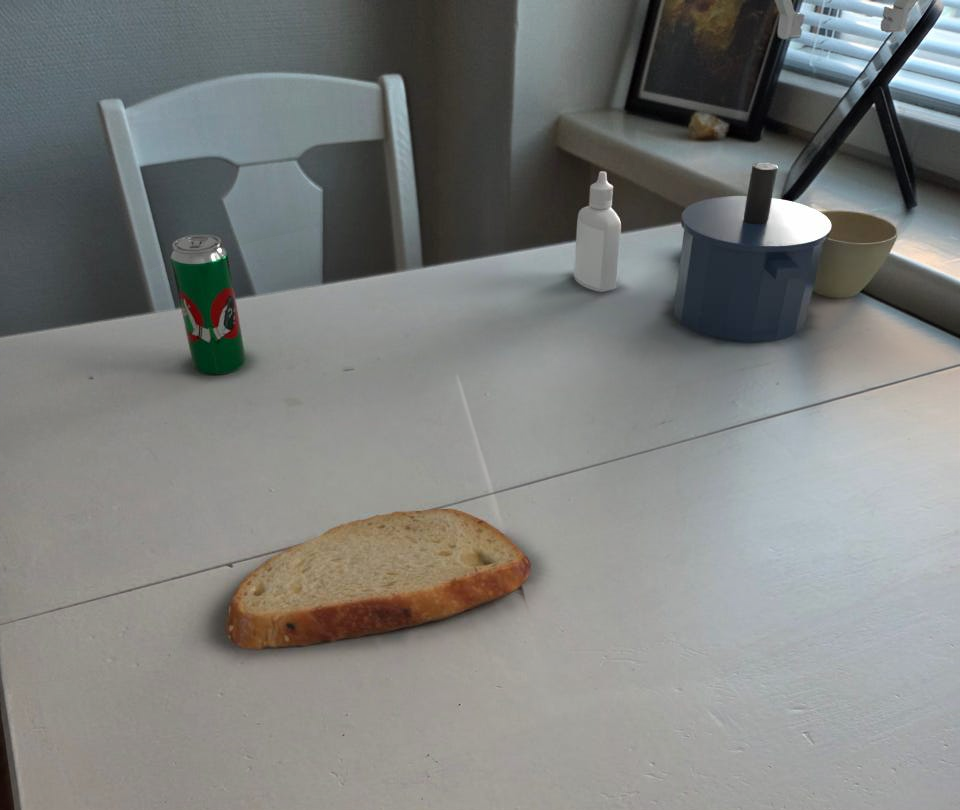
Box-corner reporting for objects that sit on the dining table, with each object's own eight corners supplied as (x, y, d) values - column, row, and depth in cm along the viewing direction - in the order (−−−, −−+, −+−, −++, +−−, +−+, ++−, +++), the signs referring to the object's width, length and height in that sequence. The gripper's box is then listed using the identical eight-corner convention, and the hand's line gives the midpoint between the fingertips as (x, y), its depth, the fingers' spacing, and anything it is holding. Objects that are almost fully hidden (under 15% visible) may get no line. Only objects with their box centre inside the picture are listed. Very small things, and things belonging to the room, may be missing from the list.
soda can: (248, 354, 98) (227, 231, 90) (245, 377, 94) (223, 251, 86) (196, 356, 98) (171, 233, 90) (191, 380, 94) (164, 254, 86)
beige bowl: (787, 305, 107) (801, 237, 102) (788, 270, 114) (801, 206, 109) (883, 313, 105) (902, 245, 100) (878, 278, 112) (895, 213, 108)
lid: (794, 204, 105) (807, 141, 101) (853, 254, 94) (870, 186, 90) (662, 211, 103) (669, 147, 99) (707, 263, 92) (717, 194, 88)
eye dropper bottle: (577, 295, 109) (585, 181, 101) (572, 275, 113) (579, 164, 105) (617, 294, 109) (627, 180, 101) (610, 274, 113) (619, 163, 105)
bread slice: (203, 638, 66) (192, 595, 64) (338, 501, 78) (334, 461, 76) (443, 716, 61) (441, 673, 58) (548, 557, 73) (550, 515, 70)
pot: (766, 279, 112) (783, 192, 106) (836, 352, 98) (860, 256, 92) (651, 286, 111) (661, 198, 104) (705, 362, 97) (720, 265, 90)
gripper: (983, -178, 80) (935, 21, 89) (740, -168, 78) (716, 34, 87) (1026, -176, 75) (971, 34, 84) (769, -165, 73) (741, 48, 82)
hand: (840, 34), depth 85 cm, fingers open, 8 cm apart
